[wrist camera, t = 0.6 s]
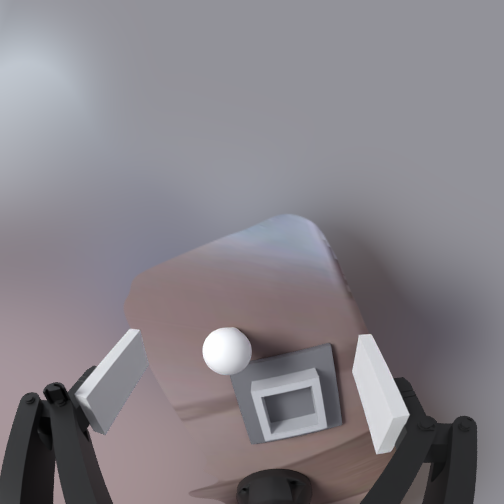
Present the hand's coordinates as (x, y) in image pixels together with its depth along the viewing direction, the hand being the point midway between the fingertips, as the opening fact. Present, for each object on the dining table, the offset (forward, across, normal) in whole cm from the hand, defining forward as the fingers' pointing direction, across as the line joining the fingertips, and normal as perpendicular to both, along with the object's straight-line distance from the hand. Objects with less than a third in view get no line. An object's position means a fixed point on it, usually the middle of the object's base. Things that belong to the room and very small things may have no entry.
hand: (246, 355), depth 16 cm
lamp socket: (+21, -4, +24) cm, 32 cm away
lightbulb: (+24, +5, +13) cm, 27 cm away
